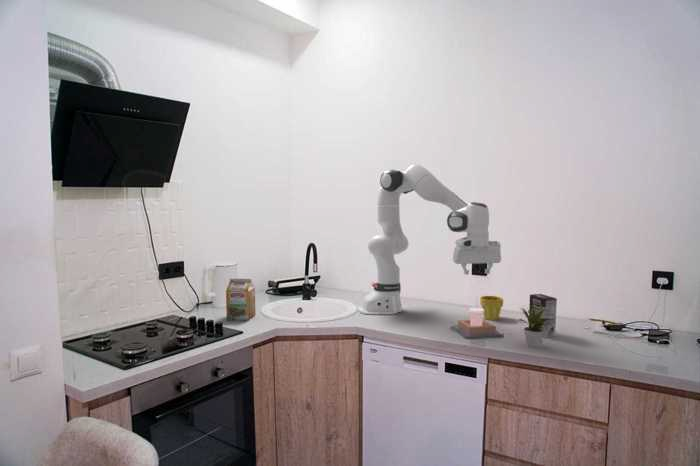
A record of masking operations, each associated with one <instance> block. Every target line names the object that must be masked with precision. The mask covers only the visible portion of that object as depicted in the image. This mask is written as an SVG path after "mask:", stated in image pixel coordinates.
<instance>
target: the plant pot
mask: <svg viewBox="0 0 700 466" xmlns="http://www.w3.org/2000/svg"><path fill="white" fill-rule="evenodd" d="M479 300H480V302H479V304H480V305H481V308H482V309H484V312H483V319H484V320H490V321H496V320H499V318H500V314H501V310H502V308H503V307H504V298H502V297H500V296H497V295H482V296H480V297H479Z"/></svg>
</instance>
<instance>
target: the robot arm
mask: <svg viewBox="0 0 700 466" xmlns="http://www.w3.org/2000/svg"><path fill="white" fill-rule="evenodd" d="M379 183H380V187H379V189H378V195H377V201H376V202H377V209H376V211H377V223H378V224H379V225H380V226H381V229H382V231H383V234H377V235H375V236H373V237H371V238H370V239H369V241H368V247H367V248H368V251H369V253H370V254H371V255H372V256H373V258H374V259H375V262H376V266H377V267H376V268H377V282H372V283H371V284H370V285H371V286H372V287H373V290H371V291H370V292H369V293H368V294H366V295H365V296H364V298H363V301H362V305H360V306H358V307H357V308H358V312H359V313H360V314H363V315H396V314H398V313H400V312H403V307H402V303H401V302H402V301H401V288H402V287H401V286H402V285H401V282H400V274H401V273H400V266H399V265H398V264H397V263H396V261H395V260H396V259H395V255H400V254H401V253H403V252H405V251H406V250H408V247H409V239H408V237H407V236H406V235H405V234H404V231H403V228H402V224H401V220H400V219H401V214H400V197H401V195H402V194H404V195H405V194H409V193H411V192H413V191H414V192H415V193H416V194H417V195H418V196H419V197H420V198H421V199H423V200H425V201H428V202H433V203H437V204H442V205H444V206H446V207H448V208H449V209H450V210H451V212H450V213H448V215H447V218H446V224H447V227H448V229H449V230H450V231H452V232H454V233H466V236H465V237H462V238H459V239H456V240H455V245H456V246H455V247H454V248H453V254H452V255H453V257H452V261H453V262H454V264H457V265H461V267H462V270H463V274H464V275H469V274H470V270H469V269H467V265H470V264H471V265H472V264H474V265H475V264H487V267H486V268H484V274H485V275H486V274H488V275H490V273H491V269H492V267H493V265H494V264H499V263H500V262H501V261H502V253H501V248H502V247H501V243H500V242H499V241H497V240H493V241H492V240H489V237H490V235H489V234H490V233H489V225H490V213H489V207H488V205H487V204H485V203H482V202H473V201H472V202H469V203H468V204H467V203H466V202H465V201H464V200H462V199H461V198H460V197H459V196H458V195H456V194H455V193H454V192H453V191H451V190H450V189H449V188H448V187H447V186H445V185H444V184H443V183H442V182H441V181H440V180H439V179H437V177H436V176H435V175H434V174H432V172H431V171H429V170H428V169H427V168H426V167H424V166H423V165H421V164H416V163H415V164H411V165H410V166H409V167H408V168H407V169H405V168H404V169H403V168H402V169H401V168H399V169H393V168H392V169H388V170H385V171H383V173H382V174H381V176H380V181H379Z"/></svg>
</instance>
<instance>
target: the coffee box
mask: <svg viewBox="0 0 700 466" xmlns="http://www.w3.org/2000/svg"><path fill="white" fill-rule="evenodd" d="M557 301H558V298H556V297H553V296H550V295H546V294H542V293H538V294H537V293H533V294H529V308H528V310H529V311H530V312H531V313H532V308H533V309H534V306H535V304H536V306H535V315H536V313H537V312H538V310H540V309H541V308H542V307H543V308H544V307H546V308H545V309H544V311H543V313H542V314H541V316H540V318H548V319H552V320H547V321H545V322H543V323H544V324H546V323H549V324H550V325H551V326H550V325H549V324H546V325H547V326H544V325H542V326H541V327H540V328H541V329H543V330H544V333H543V337H542V338H549V337H555V336H556V322H557V321H556V319H557V303H558V302H557ZM531 307H532V308H531ZM549 311H551V312H549ZM547 312H548V313H547ZM538 313H539V312H538ZM538 313H537V314H538ZM545 313H546V314H545ZM544 314H545V315H544ZM528 315H529V316H530V314H529V313H528ZM542 315H543V316H542ZM536 316H537V315H536ZM540 318H539V319H540ZM541 320H542V319H541ZM539 321H540V320H538V322H539ZM538 322H537V323H538ZM543 323H542V324H543ZM528 325H529V324H528ZM528 327H530V325H529V326H528Z"/></svg>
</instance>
